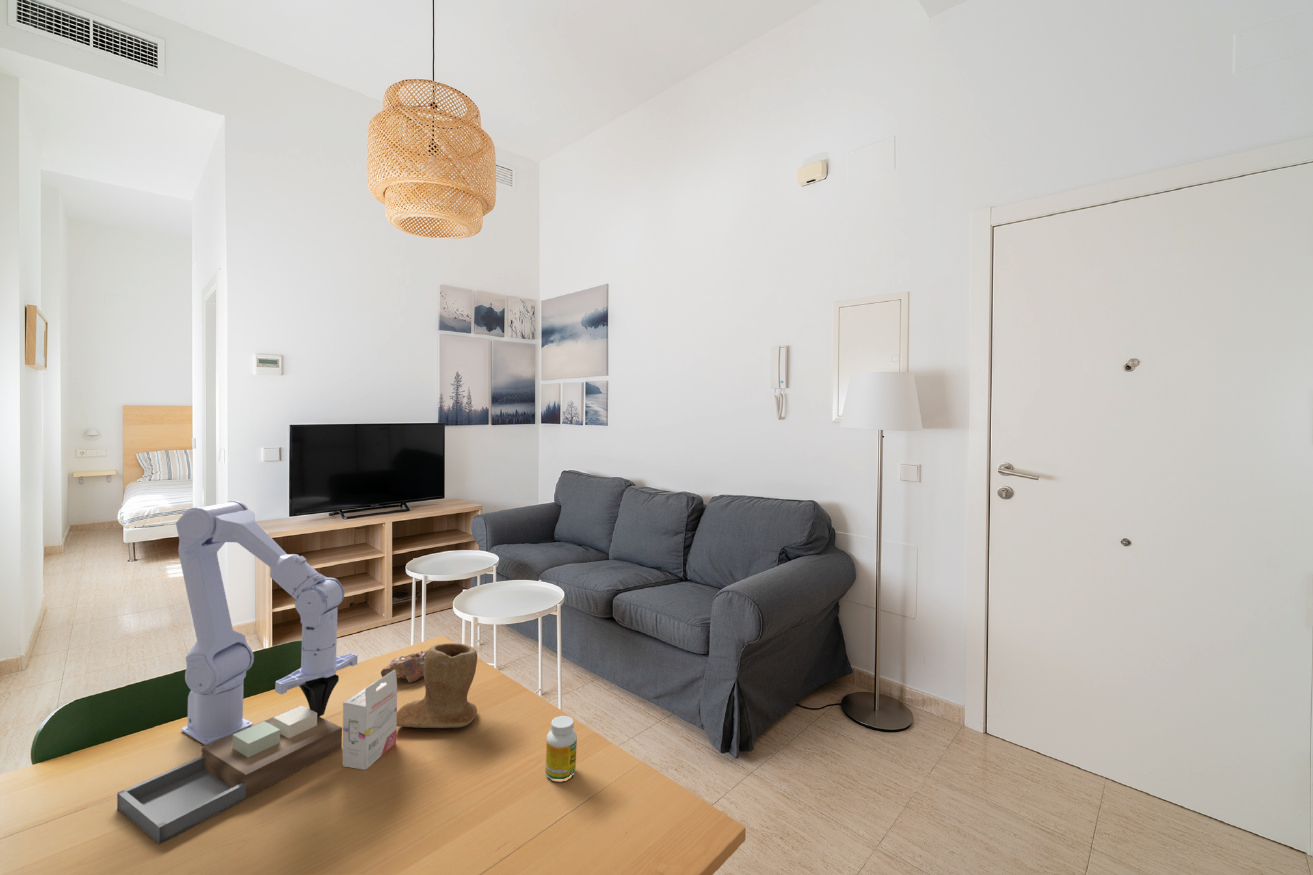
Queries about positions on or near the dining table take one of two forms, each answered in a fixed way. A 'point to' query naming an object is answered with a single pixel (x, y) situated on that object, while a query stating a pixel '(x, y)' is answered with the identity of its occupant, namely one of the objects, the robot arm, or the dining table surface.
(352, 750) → the ink cartridge box
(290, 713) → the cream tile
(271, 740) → the sage tile
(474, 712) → the brown hollow boot figurine
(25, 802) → the dining table surface
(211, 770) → the walnut board
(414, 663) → the mineral specimen
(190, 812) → the tray
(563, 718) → the supplement bottle
